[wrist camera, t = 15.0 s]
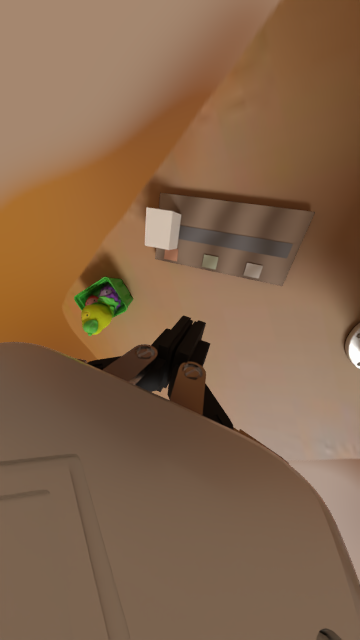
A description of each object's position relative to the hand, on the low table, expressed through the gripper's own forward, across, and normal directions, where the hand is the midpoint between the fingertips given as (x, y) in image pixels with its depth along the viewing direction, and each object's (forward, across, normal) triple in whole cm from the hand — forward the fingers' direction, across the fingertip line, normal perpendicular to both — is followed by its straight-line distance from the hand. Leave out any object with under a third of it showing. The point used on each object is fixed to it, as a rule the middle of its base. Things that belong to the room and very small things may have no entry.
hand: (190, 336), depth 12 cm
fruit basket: (+21, +23, +10) cm, 33 cm away
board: (+21, +2, -6) cm, 22 cm away
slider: (+19, +11, -6) cm, 23 cm away
